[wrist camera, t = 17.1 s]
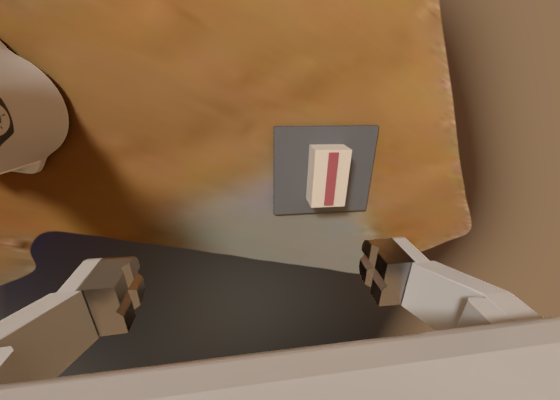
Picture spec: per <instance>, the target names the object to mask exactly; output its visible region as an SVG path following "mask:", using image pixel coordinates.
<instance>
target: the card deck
mask: <svg viewBox="0 0 560 400" xmlns="http://www.w3.org/2000/svg"><path fill="white" fill-rule="evenodd" d="M351 156H352V149H350V148H349V147H347V146H346V145H344V144H310V145H309V160H308V175H307V190H306V199H307V201H308V203H309V205H310V207H311V208H319V207H343V206H345V201H346V193H347V186H348V178H349V171H350V163H351Z"/></svg>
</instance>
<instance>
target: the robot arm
mask: <svg viewBox="0 0 560 400" xmlns="http://www.w3.org/2000/svg"><path fill="white" fill-rule="evenodd" d="M68 128H69V117H68V111H67V108H66V105H65V102H64V100H63V98H62V96H61V94H60V92H59V91H58V89H57V88H56V86H55V85H54V84H53V82H52V81H51V80H50V79H49V78H48V77H47V76H46V75H45V74H44V73H43V72H42V71H41V70H40V69H38V68H37V67H36V66H34V65H33V64H31V63H30V62H28V61H27V60H25V59H23V58H21V57H20V56H18V55H16V54H14V53H13V52H11V51H10V50H9V49H8V48H7V47H6V46H5V45H4V44H3V43H2V42H1V41H0V175H1V174H4V173H7V172H10V171H12V172H20V173H27V174H34V173H37V172H40V171H41V170H42V169H43V167H44V165H45V162H46V159H47V157H48V156H49V155H50V154H51V153H53V152H54V151H55V150H57V149H58V148H59V147H60V146H61V145H62V143H63V142H64V140H65V138H66V136H67V133H68ZM362 251H363V253H364V255H363V257H362V258H361V259H360V264H359V270H360V275H361V278H362V280H363V282H364V283H365V284H366V285H367V286H369V287H371V290H370V293H371V295H372V296H373V298H374V300H375V301H376V303H377V304H378V306H388V305H402V306H403V307H404V308H405V309H407V310H408V311H410V312H411V313H412V314H414V315H415V316H416V317H418V318H419V319H421V320H422V321H423V322H425V323H426V324H428V325H429V326H430V327H432V328H433V329H435V330H436V331H431V332H423V333H416V334H407V335H399V336H391V337H383V338H375V339H366V340H358V341H350V342H341V343H333V344H325V345H316V346H308V347H300V348H293V349H284V350H276V351H268V352H259V353H251V354H243V355H235V356H227V357H219V358H212V359H203V360H195V361H187V362H179V363H170V364H162V365H154V366H146V367H138V368H130V369H122V370H113V371H106V372H97V373H89V374H81V375H73V376H65V377H57V376H59V375H60V374H61V373H62V372H63V371H64V370H65V369H66V368H67V367H68V366H69V365H70V364H72V363H73V362H74V361H75V360H76V359H77V358H78V357H79V356H80V355H81V354H82V353H83V352H85V351H86V350H87V349H88V348H89V347H90V346H91V345H92V344H93V343H94V342H95V341H96V340H97V339H98V338H99V337H100V336H107V335H116V334H123V333H128V332H129V330H130V328H131V326H132V323H133V321H134V319H135V317H136V314H135V311H134V310H135V309H136V308H137V307H139V306H140V305H141V303H142V300H143V297H144V290H145V288H144V280H143V277H142V276H141V275H140V274H138V273H137V272H138V270H139V268H140V264H139V261H138V258H137V257H135V256H133V257H112V258H95V259H87V260H84V261H83V262H82V263H81V265H80V266H79V267H78V268H77V269H76V270H75V271H74V273H73V274H72V275H71V276H70V277H69V278H68V280H67V281H66V282H65V283H64V284H63V286H62V287H61V288H60V289H59V290H58V291H57V292H56V293H50V294H49V295H47V296H45V297H43V298H41V299H39V300H37V301H36V302H34V303H32V304H30V305H28V306H26V307H25V308H23V309H21V310H19V311H17V312H15V313H13V314H12V315H10V316H8V317H6V318H4V319H2V320H1V321H0V400H560V316H553V317H545V318H542V317H541V316H540V315H539V314H537V313H536V312H535V311H533V310H532V309H531V308H530V307H528V306H527V305H526V304H525V303H523V302H522V301H521V300H520V299H518V298H517V297H516V296H514V295H513V294H512V293H511V292H508V291H506V290H504V289H501V288H499V287H496V286H494V285H491V284H489V283H487V282H484V281H481V280H479V279H477V278H474V277H472V276H470V275H467V274H465V273H462V272H460V271H457V270H455V269H453V268H450V267H448V266H445V265H443V264H440V263H438V262H436V261H429V260H428V259H427V258H426V257H425V256H424V255H423V254H422V253H421V252H420V251H419V250H418V249H417V248H416V247H415V246H413V245H412V244H411V243H410V242H409V241H408V240H407V239H406V238H404V237H393V238H386V239H374V240H364V242H363V245H362Z"/></svg>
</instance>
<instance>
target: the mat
mask: <svg viewBox="0 0 560 400" xmlns="http://www.w3.org/2000/svg"><path fill="white" fill-rule="evenodd" d="M378 129H379V126H378V125H356V126H274V215H281V214H300V213H319V212H337V211H356V210H366V205H367V199H368V192H369V186H370V180H371V173H372V167H373V161H374V155H375V148H376V142H377V136H378ZM310 144H344V145H346V146H347V147H349V148H350V149H352V156H351V163H350V171H349V178H348V186H347V193H346V201H345V206H343V207H319V208H311V207H310V205H309V203H308V201H307V199H306V190H307V175H308V160H309V145H310Z"/></svg>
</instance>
